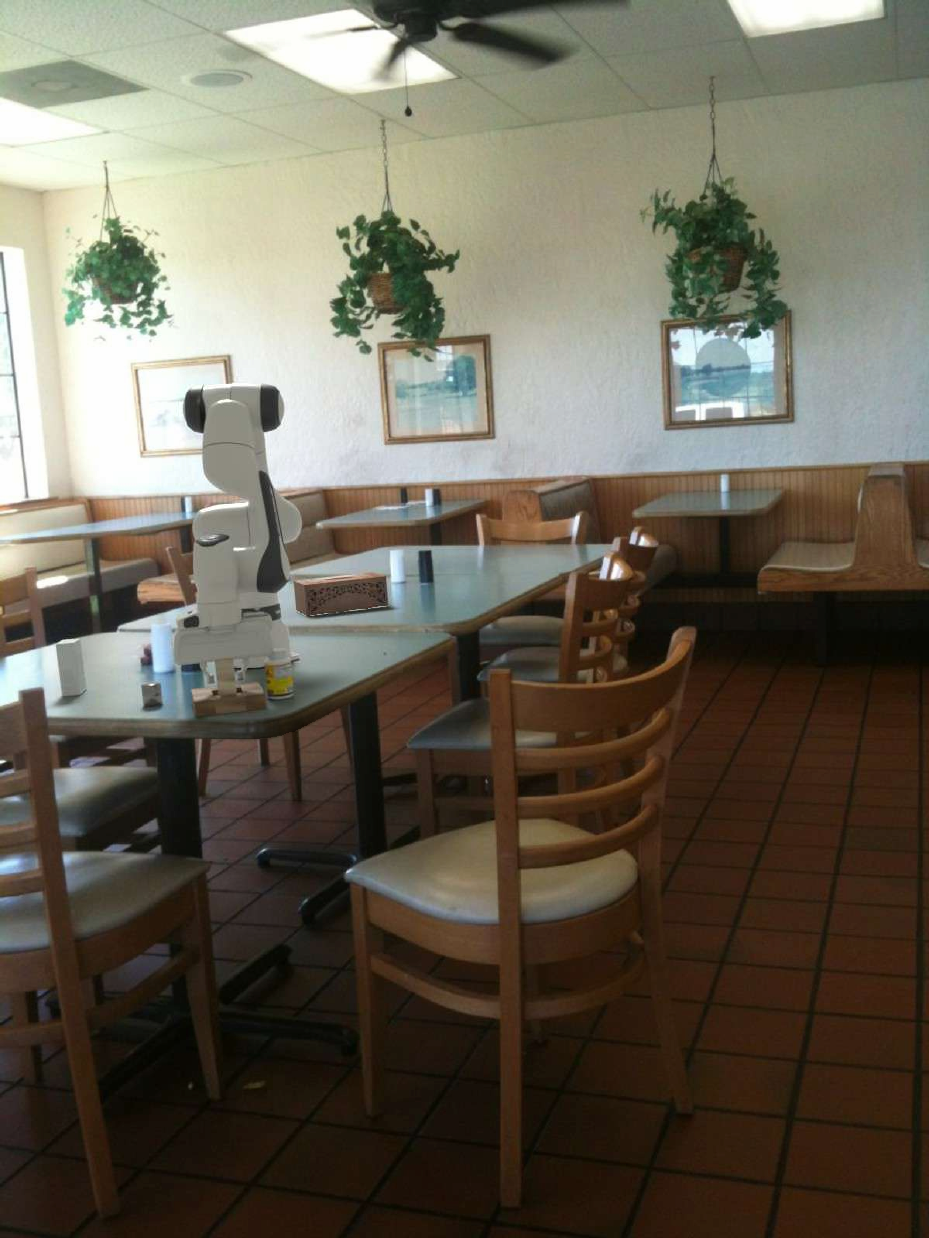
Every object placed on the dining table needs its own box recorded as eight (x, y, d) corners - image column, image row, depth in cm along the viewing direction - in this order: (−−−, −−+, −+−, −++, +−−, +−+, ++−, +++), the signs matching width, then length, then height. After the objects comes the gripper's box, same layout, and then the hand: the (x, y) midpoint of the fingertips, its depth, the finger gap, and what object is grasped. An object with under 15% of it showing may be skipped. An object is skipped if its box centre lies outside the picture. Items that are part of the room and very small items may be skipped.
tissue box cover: (375, 603, 401) (373, 572, 399) (388, 608, 387) (386, 576, 386) (296, 612, 392) (293, 580, 391) (306, 617, 379) (303, 584, 377)
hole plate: (192, 703, 263) (191, 689, 263) (259, 695, 267) (258, 681, 266) (195, 716, 250) (194, 702, 249) (266, 708, 253) (265, 693, 253)
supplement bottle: (266, 696, 266) (262, 648, 264) (293, 693, 267) (289, 646, 265) (268, 701, 260) (263, 652, 259) (295, 698, 261) (290, 650, 260)
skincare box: (67, 691, 286) (61, 639, 284) (86, 689, 286) (80, 638, 285) (61, 696, 280) (54, 644, 278) (80, 695, 280) (74, 642, 279)
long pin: (219, 705, 260) (213, 652, 258) (236, 703, 260) (231, 650, 259) (220, 708, 256) (215, 655, 255) (238, 706, 257) (232, 653, 255)
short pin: (143, 704, 266) (141, 683, 265) (162, 702, 267) (160, 681, 266) (143, 708, 262) (141, 687, 261) (163, 705, 263) (160, 684, 262)
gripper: (269, 607, 261) (275, 673, 263) (168, 618, 256) (175, 684, 258) (272, 611, 255) (278, 678, 257) (169, 622, 250) (176, 690, 252)
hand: (226, 681), depth 258 cm, fingers open, 5 cm apart
